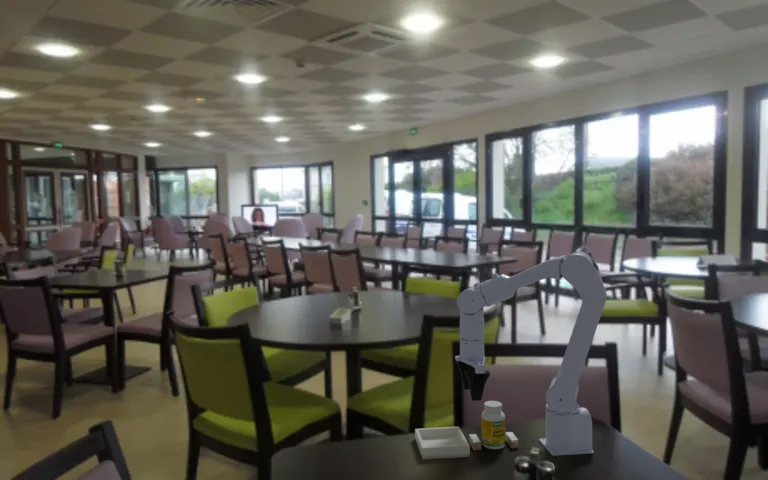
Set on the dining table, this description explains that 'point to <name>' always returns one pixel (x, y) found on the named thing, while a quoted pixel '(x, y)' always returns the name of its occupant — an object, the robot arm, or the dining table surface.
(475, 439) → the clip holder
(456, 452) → the tray
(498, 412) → the supplement bottle
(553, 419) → the robot arm
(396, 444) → the dining table surface
